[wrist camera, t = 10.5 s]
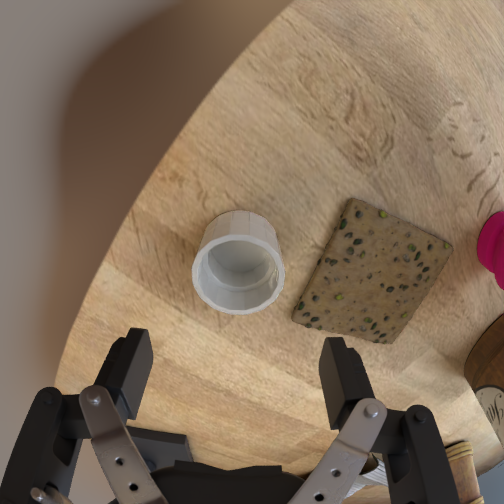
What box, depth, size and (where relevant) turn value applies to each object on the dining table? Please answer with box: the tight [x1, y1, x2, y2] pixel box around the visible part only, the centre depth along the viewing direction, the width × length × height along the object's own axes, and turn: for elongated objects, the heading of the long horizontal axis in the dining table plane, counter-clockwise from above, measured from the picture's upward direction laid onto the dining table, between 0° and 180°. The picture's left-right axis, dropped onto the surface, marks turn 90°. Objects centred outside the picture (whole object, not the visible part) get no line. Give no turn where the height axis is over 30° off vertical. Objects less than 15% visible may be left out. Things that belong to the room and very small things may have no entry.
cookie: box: [291, 198, 453, 344], centre depth 24 cm, size 12×12×1 cm
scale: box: [126, 426, 193, 472], centre depth 37 cm, size 12×14×4 cm
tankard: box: [445, 441, 484, 504], centre depth 39 cm, size 18×24×25 cm
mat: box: [344, 452, 388, 499], centre depth 45 cm, size 23×24×5 cm
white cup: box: [191, 211, 285, 315], centre depth 21 cm, size 6×6×5 cm
